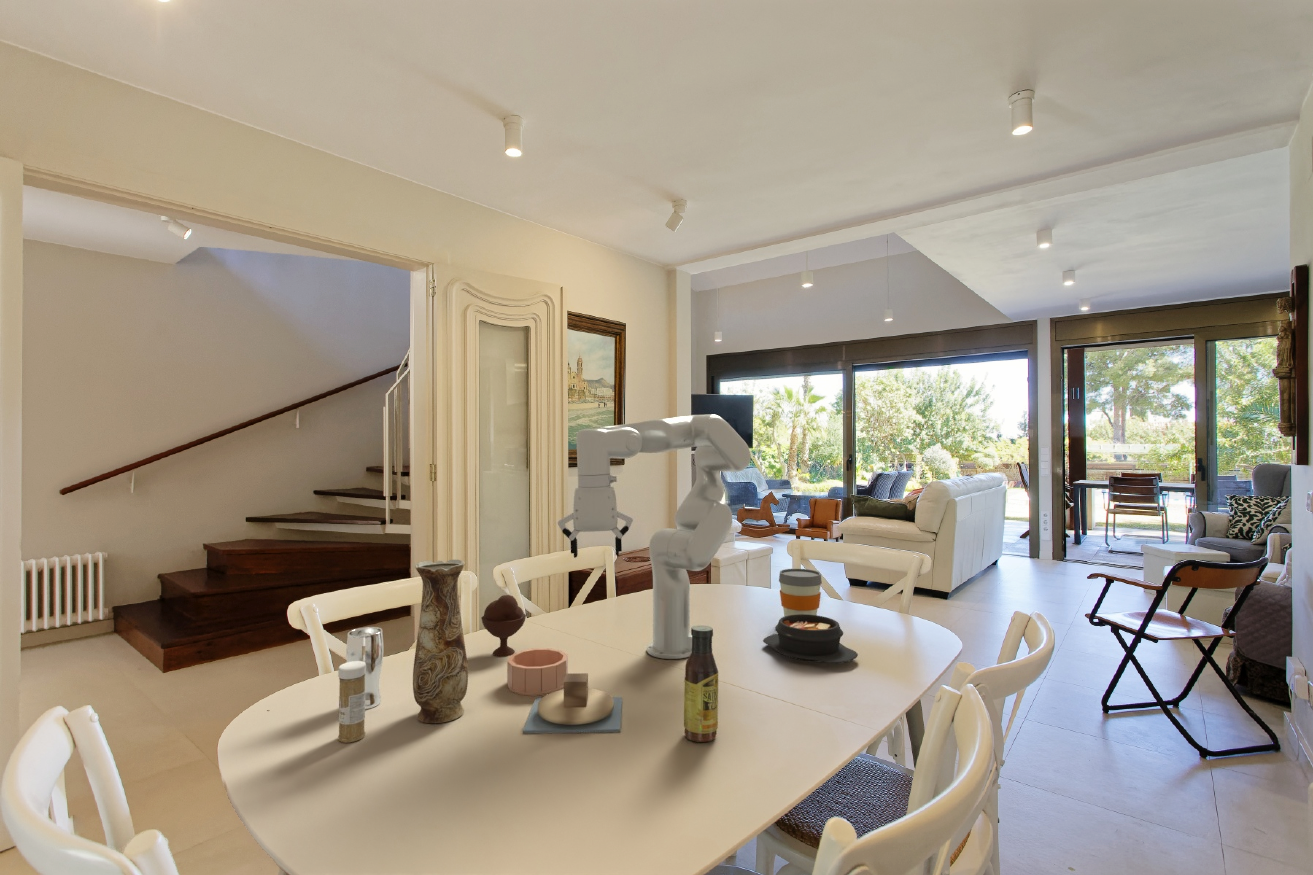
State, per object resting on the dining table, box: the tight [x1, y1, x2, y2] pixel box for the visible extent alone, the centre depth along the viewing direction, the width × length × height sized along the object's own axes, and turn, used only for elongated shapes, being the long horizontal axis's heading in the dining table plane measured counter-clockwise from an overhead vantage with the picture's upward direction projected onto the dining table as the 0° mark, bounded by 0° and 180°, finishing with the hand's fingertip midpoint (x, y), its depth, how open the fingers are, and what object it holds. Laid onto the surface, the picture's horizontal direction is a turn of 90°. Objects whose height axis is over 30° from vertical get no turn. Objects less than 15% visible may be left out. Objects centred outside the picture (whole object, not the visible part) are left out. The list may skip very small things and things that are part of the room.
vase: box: [412, 559, 469, 724], centre depth 127 cm, size 10×11×30 cm
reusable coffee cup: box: [778, 568, 823, 617], centre depth 190 cm, size 13×13×15 cm
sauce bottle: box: [683, 624, 719, 743], centre depth 117 cm, size 7×6×20 cm
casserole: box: [762, 614, 859, 665], centre depth 162 cm, size 25×19×8 cm
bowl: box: [506, 647, 569, 697], centre depth 142 cm, size 13×13×6 cm
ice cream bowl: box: [481, 594, 527, 657], centre depth 163 cm, size 11×11×15 cm
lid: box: [538, 672, 614, 725], centre depth 126 cm, size 15×15×7 cm
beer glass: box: [345, 626, 384, 711], centre depth 131 cm, size 7×7×15 cm
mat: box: [522, 696, 623, 734], centre depth 126 cm, size 18×15×1 cm
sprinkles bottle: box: [337, 661, 366, 744], centre depth 116 cm, size 5×5×14 cm
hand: (596, 555), depth 148 cm, fingers open, 9 cm apart
